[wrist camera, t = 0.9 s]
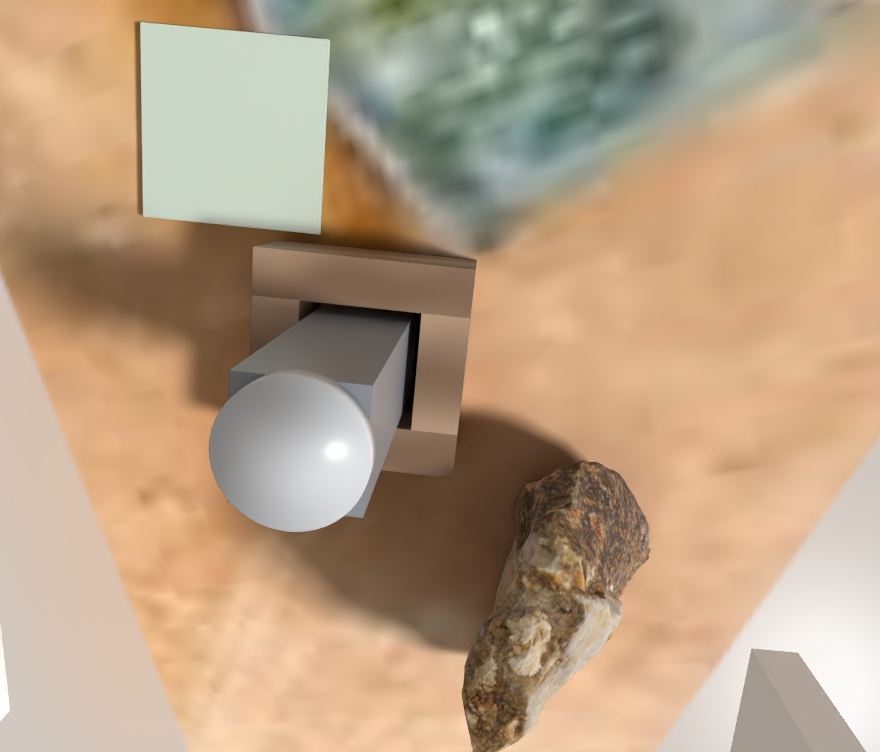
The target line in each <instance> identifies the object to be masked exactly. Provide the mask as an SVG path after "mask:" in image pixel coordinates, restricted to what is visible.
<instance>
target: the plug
mask: <svg viewBox="0 0 880 752" xmlns="http://www.w3.org/2000/svg"><path fill="white" fill-rule="evenodd" d="M416 322H417V313H414V312H404V311H395V310H385V309H376V308H367V307H357V306H348V305H338V304H329V303H325V304H324V305H322V306H321V307H319V308H318V309H317V310H315V311H314V312H312V313H311V314H309V315H308V316H307V317H305V318H304V319H302V320H301V321H299V322H298V323H296V324H295V325H294V326H292V327H291V328H289V329H288V330H286V331H285V332H284V333H282V334H281V335H279V336H278V337H276V338H275V339H273V340H272V341H271V342H269V343H268V344H266V345H265V346H263V347H262V348H261V349H259V350H258V351H256V352H255V353H253V354H252V355H250V356H249V357H248V358H246V359H245V360H243V361H242V362H240V363H239V364H238V365H236V366H235V367H233V368H232V369H230V372H229V400H228V401H227V402H226V403H225V405H224V406H223V407H222V409H221V410H220V411H219V413H218V415H217V417H216V419H215V421H214V424H213V426H212V429H211V434H210V438H209V459H210V464H211V469H212V472H213V475H214V478H215V480H216V482H217V484H218V486H219V488H220V489H221V491H222V493H223V494H224V496H225V497H226V498H227V502H229V503H231V504H232V505H233V506H234V507H235V508H236V509H237V510H238V511H240V512H241V513H242V514H244V515H245V516H246V517H248V518H250V519H251V520H253V521H255V522H257V523H259V524H261V525H263V526H266V527H269V528H272V529H276V530H281V531H288V532H304V531H311V530H316V529H319V528H323V527H326V526H328V525H330V524H332V523H334V522H336V521H337V520H339V519H340V518H342V517H343V516H349V517H358V518H363V517H364V514H365V511H366V509H367V506H368V503H369V501H370V498H371V495H372V493H373V490H374V487H375V485H376V482H377V479H378V477H379V474H380V471H381V469H382V466H383V463H384V460H385V458H386V455H387V452H388V450H389V447H390V444H391V442H392V439H393V436H394V434H395V431H396V428H397V426H398V423H399V420H400V418H401V415H402V412H403V410H404V407H405V404H406V402H407V399H408V396H409V394H410V390H411V379H412V367H413V356H414V345H415V333H416Z"/></svg>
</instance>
